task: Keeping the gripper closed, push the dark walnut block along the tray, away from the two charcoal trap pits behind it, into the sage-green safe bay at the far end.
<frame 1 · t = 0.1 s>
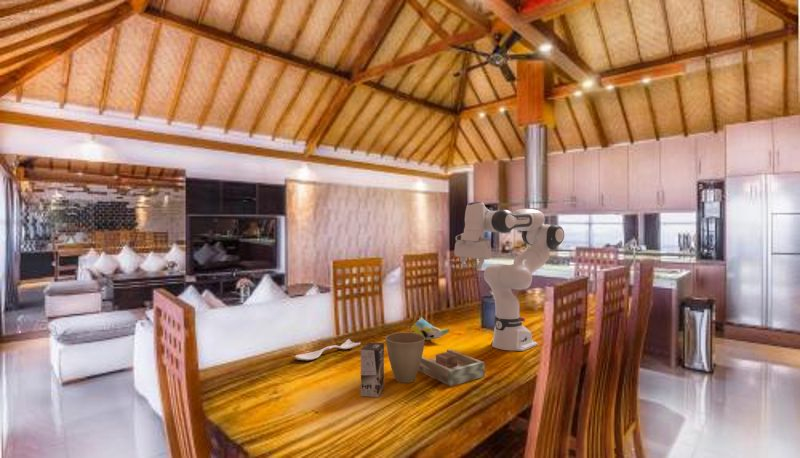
hand: (471, 268, 185), 39 cm above the table, fingers open, 8 cm apart
white plastic spork: (327, 354, 189), on the table
decorative bird: (431, 337, 216), on the table
plant pot: (405, 379, 157), on the table
coffee box: (373, 392, 145), on the table
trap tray: (448, 372, 163), on the table
walnut block: (446, 365, 165), point 2 cm above the table, touching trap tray
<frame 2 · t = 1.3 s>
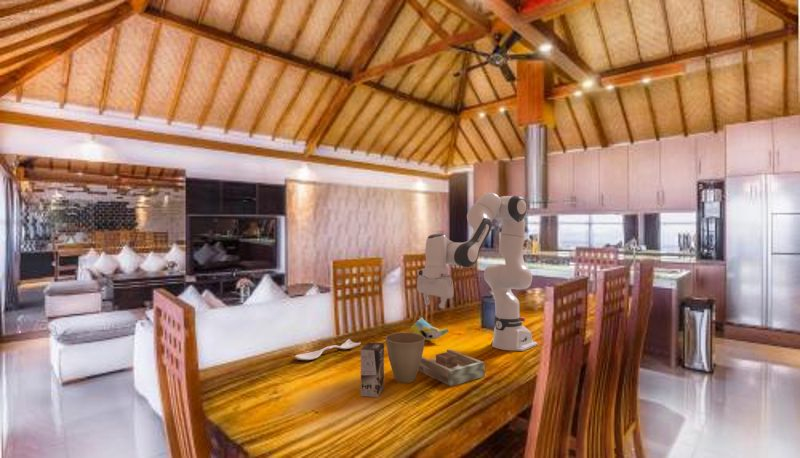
hand: (434, 306, 172), 25 cm above the table, fingers open, 8 cm apart
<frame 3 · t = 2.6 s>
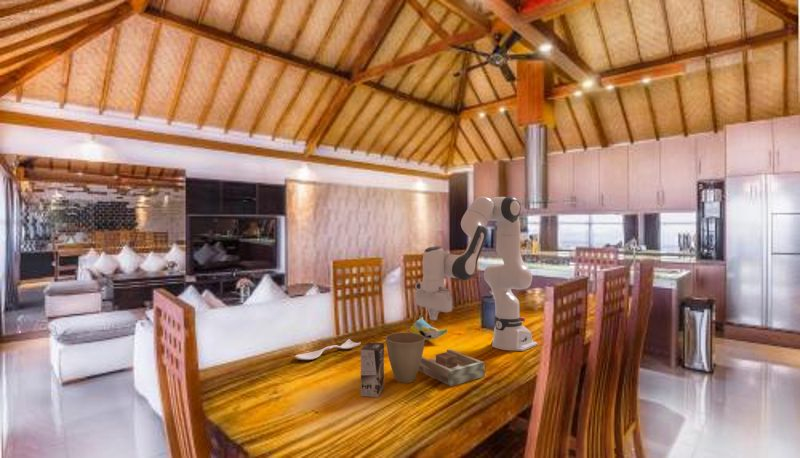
hand: (433, 319, 171), 19 cm above the table, fingers closed
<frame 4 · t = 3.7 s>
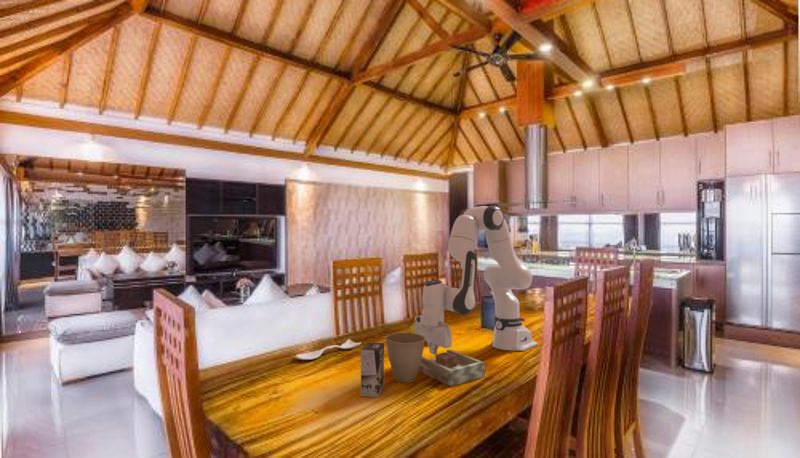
hand: (433, 353, 171), 5 cm above the table, fingers closed
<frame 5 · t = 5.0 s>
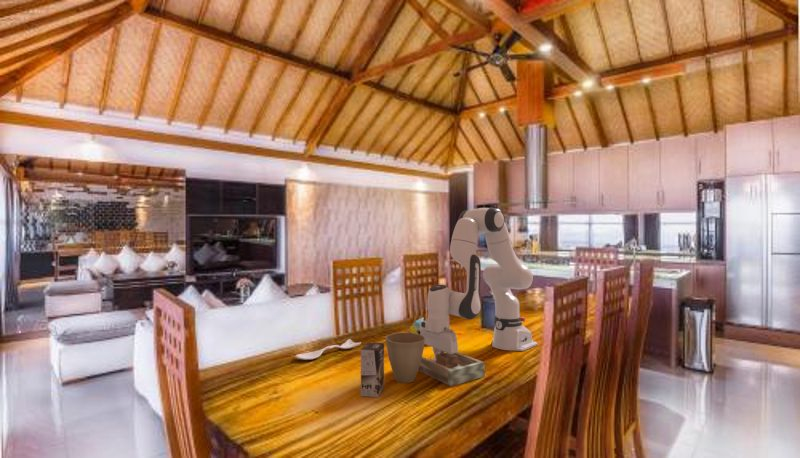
hand: (438, 359, 169), 4 cm above the table, fingers closed
walnut block: (446, 365, 164), point 3 cm above the table, touching gripper
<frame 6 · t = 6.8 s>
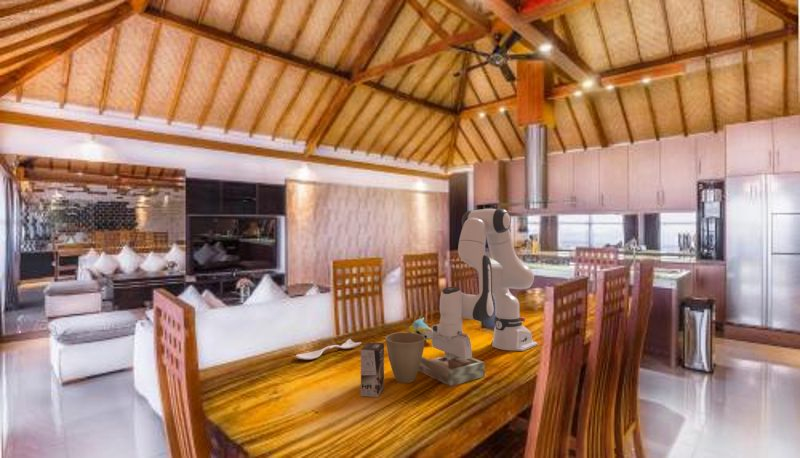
hand: (451, 364, 162), 4 cm above the table, fingers closed
walnut block: (459, 371, 158), point 3 cm above the table, touching gripper, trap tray
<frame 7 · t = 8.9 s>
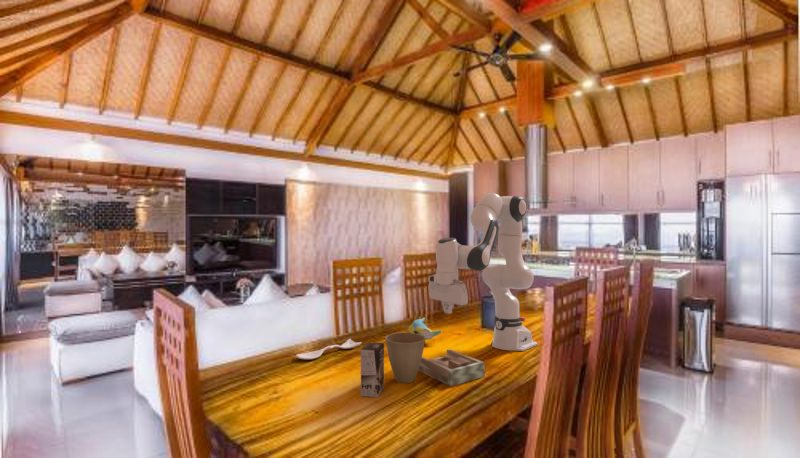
hand: (447, 312, 166), 23 cm above the table, fingers closed
walnut block: (459, 371, 158), point 2 cm above the table, touching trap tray
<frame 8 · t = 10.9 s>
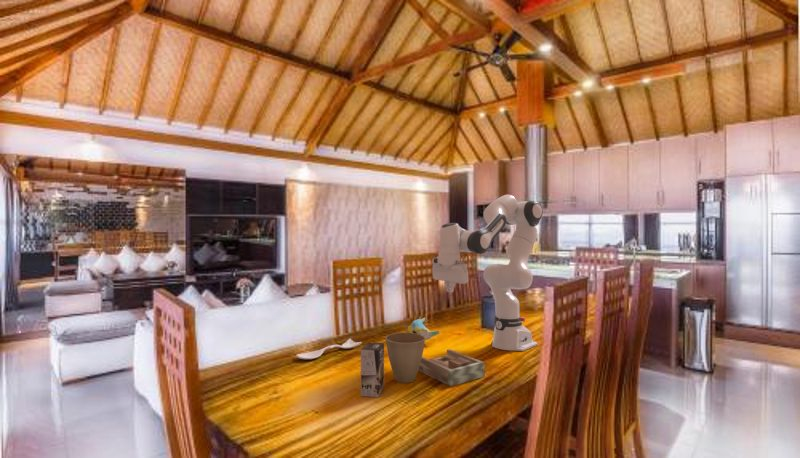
hand: (450, 291, 181), 29 cm above the table, fingers closed
at the end: walnut block inside the target area on the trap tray (0.3 cm from its centre), point 2.5 cm above the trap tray's base; walnut block tilted 0°; walnut block moved 8.0 cm from its start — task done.
